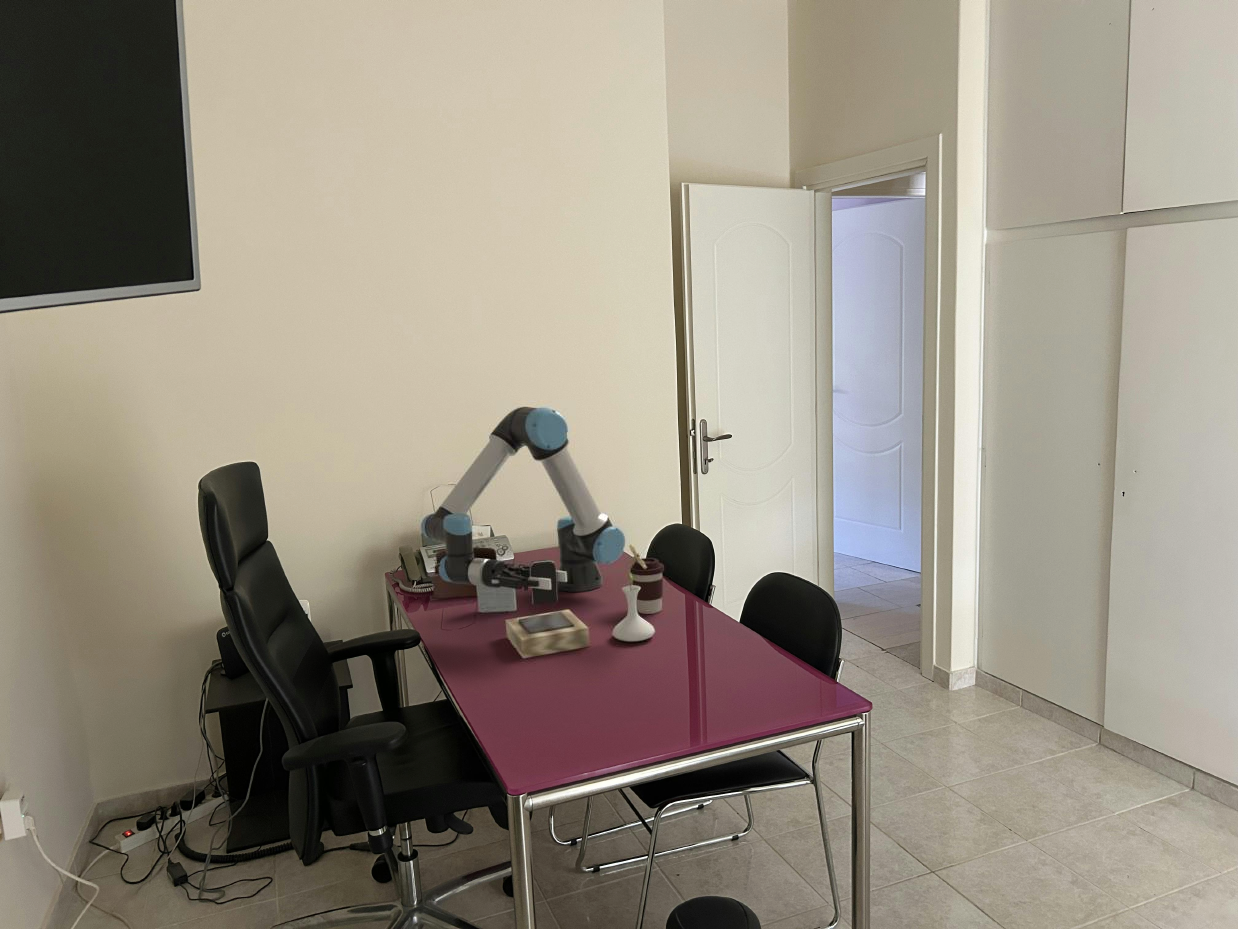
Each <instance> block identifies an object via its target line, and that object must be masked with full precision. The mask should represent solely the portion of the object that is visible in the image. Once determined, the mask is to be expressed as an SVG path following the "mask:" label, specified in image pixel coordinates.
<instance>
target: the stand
mask: <svg viewBox="0 0 1238 929" xmlns="http://www.w3.org/2000/svg"><path fill="white" fill-rule="evenodd" d="M505 628H506V630H505V631H506V638H507V639H508V641H509V640H510V641H509V642H510V643H511V645H512V646H513V647H514V648H516V649H515V650H516V651H517V652H518V654H519V655H520V656H521V657H522V659H527V658H528V659H529V658H532V657H538V656H543V655H544V656H545V655H549V654H555V653H560V652H567V651H571V650H578V649H582V648H583V649H584V648H587V647H589V648H590V647H591V646H590V645H591V644H590V632H589V630H590V629H589V627H588V626H587V625H586V624H585V623H583V621H581V620H580V619H579V618H578V617H577V615H575V614H574V613H573V612H572V611H571V610H570V609H563V610H557V611H551V612H546V613H545V612H544V613H539V614H533V615H528V616H521V617H515V618H508V619H505Z"/></svg>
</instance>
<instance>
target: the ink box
mask: <svg viewBox="0 0 1238 929" xmlns="http://www.w3.org/2000/svg"><path fill="white" fill-rule="evenodd" d="M476 586H477V596H476V598H477V606H478V608H477V609H478V613H479V612H482V613H501V612H502V613H503V612H505V613H506V611H507V612H516V611H517V608H518V607H517V598H516V596H517V595H516V589H513V588H507V587H499V588H494V587H487V586H483V587H480V586H479V585H476Z"/></svg>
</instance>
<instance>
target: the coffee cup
mask: <svg viewBox="0 0 1238 929" xmlns="http://www.w3.org/2000/svg"><path fill="white" fill-rule="evenodd" d="M640 559H641V560H642V561H644V563H645V565H646V566H647V568H645V569H644V568H643V567H642V566H641V564H640V563H639V562H638V560H634V562H633V564H632V567H631V570H630V573H631V575H632V577H633V578H635V580H634V581H632V586H639V587H640V590H639V592H638V594H637V599H636V609H637V613H638V614H642V615H643V614H644V615H645V614H646V615H651V614H657V613H660V612H661V611H662V608H663V601H662V600H663V599H662V598H663V597H664V596H663V592H664V591H663V590H664V587H663V586H664V576H663V572H665V565H664V563H662V562H660V561H659V559H657V558H653V557H643V558H642V557H641V558H640Z"/></svg>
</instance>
